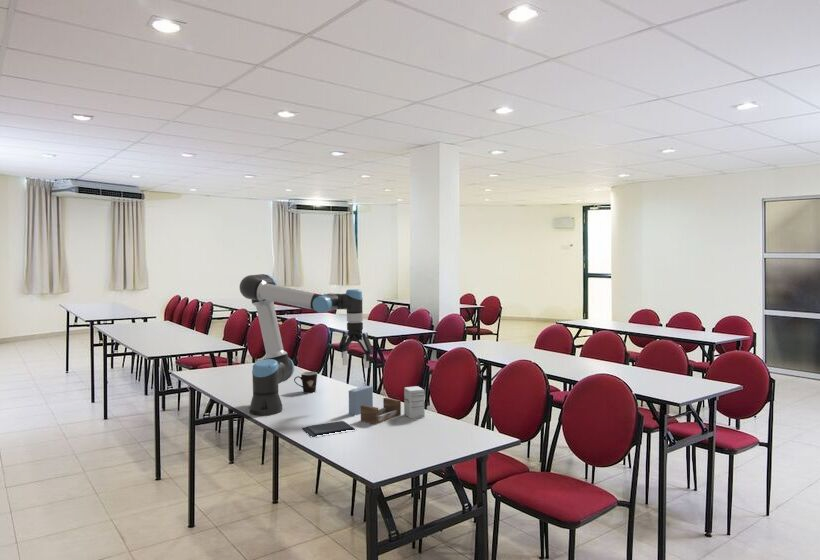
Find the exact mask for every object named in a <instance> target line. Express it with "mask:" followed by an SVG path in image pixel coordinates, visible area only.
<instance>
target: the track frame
mask: <svg viewBox="0 0 820 560" xmlns="http://www.w3.org/2000/svg"><path fill="white" fill-rule="evenodd" d="M382 401H383V403H382V404H383V405H382V406H383V407H381V408H379V407H375V406H373V407H371V406H367V405H361V414H360V421H361V422H364V421H365V423H368V422H369V424H372V425H378V424H381V423H383V421H384V422H386V420H387V421H389V420H392V419H394V418H397V417H400V416H401V415H402V411H401V408H402V406H401V405H402V403H401V400H400V399H395V398H389V397H383V399H382Z"/></svg>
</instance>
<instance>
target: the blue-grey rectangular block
mask: <svg viewBox="0 0 820 560" xmlns="http://www.w3.org/2000/svg"><path fill="white" fill-rule="evenodd" d="M373 393H374V392H373V386H370V385H364V386H360V387H356V388H353V389H348V415H351V416H355V415H356V416H358V415H361V405H367V406H371V407H374V405H373V403H374V402H373V400H374V399H373V398H374V397H373Z"/></svg>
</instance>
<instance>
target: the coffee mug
mask: <svg viewBox="0 0 820 560" xmlns="http://www.w3.org/2000/svg"><path fill="white" fill-rule="evenodd" d="M300 375H301V376H300ZM300 375H299V376H298V375H297V376H296V377H294V379H293V381H294V383H295V384H296V385H297V386H298V387H301V388H302V391H303V393H304V394H313V392H314V393H316V392H315V391H317V390H316V389H317V381H318V372H316V371H305V372H304V371H303V372H301V373H300ZM297 378H299V379H300V380H301V383H302V384H299V383H297V382H296V379H297Z"/></svg>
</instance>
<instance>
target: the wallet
mask: <svg viewBox="0 0 820 560" xmlns="http://www.w3.org/2000/svg"><path fill="white" fill-rule="evenodd" d="M301 428H302V429H303V430H304V431H305V432H306V433H308V434H309V435H310V436H312V437H315V436H317V435H323V434H329V433H335V432H341V431H346V430H355V429H356V428H355V427H353V426H351V424H349V423H348V422H345V420H338V421H332V422H326V423H321V424H313V425H312V424H311V425H306V426H305V427H301ZM302 429H301V430H302ZM303 430H302V431H303ZM304 431H303V432H304ZM305 432H304V433H305ZM306 433H305V434H306ZM310 436H309V437H310Z"/></svg>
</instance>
